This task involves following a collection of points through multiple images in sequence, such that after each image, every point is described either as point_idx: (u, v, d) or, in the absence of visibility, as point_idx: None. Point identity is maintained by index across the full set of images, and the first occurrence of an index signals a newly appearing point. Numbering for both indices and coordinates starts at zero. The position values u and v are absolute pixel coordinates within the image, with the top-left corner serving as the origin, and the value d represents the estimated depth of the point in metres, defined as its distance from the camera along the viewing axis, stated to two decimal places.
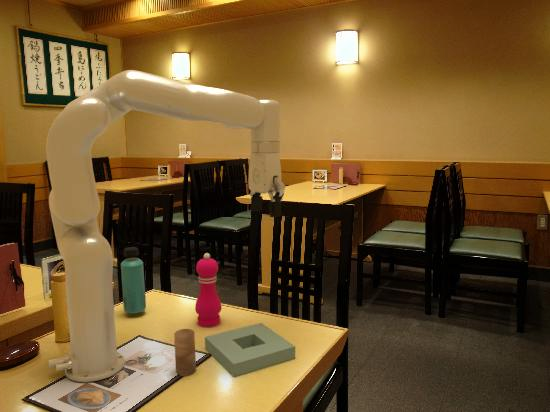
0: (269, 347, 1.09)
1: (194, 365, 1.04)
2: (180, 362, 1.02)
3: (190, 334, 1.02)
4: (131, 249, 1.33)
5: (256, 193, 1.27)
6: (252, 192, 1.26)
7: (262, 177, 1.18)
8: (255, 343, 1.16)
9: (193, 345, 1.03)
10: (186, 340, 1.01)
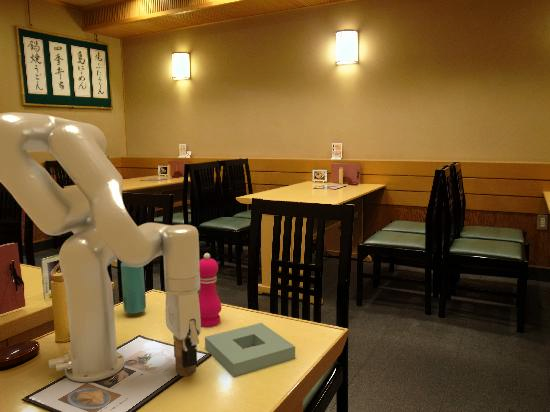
0: (269, 347, 1.09)
1: (194, 365, 1.04)
2: (180, 362, 1.02)
3: None
4: None
5: None
6: None
7: (176, 320, 0.98)
8: (255, 343, 1.16)
9: None
10: (186, 340, 1.01)
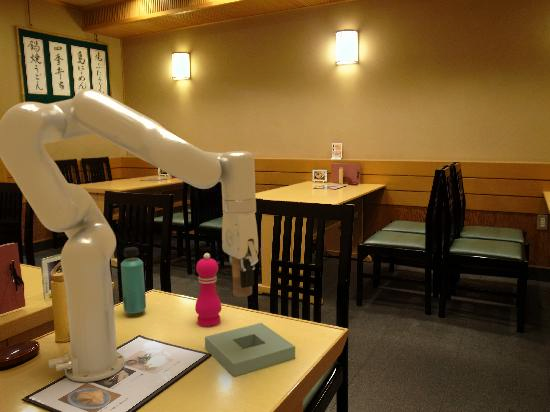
0: (269, 347, 1.09)
1: (251, 287, 1.08)
2: (238, 283, 1.07)
3: None
4: (131, 249, 1.33)
5: None
6: (231, 258, 1.10)
7: (235, 241, 1.03)
8: (255, 343, 1.16)
9: None
10: None
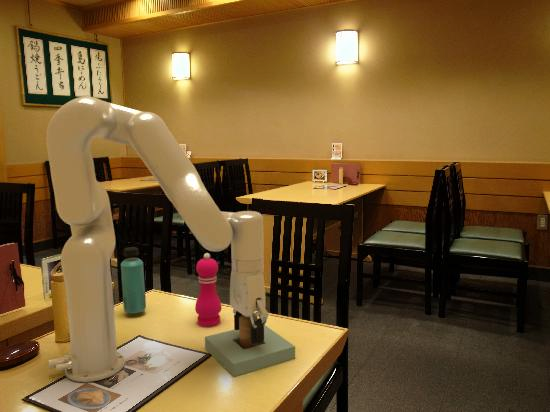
0: (269, 347, 1.09)
1: None
2: (245, 345, 1.10)
3: None
4: (131, 249, 1.33)
5: None
6: (235, 309, 1.14)
7: (244, 299, 1.06)
8: None
9: None
10: (251, 324, 1.09)
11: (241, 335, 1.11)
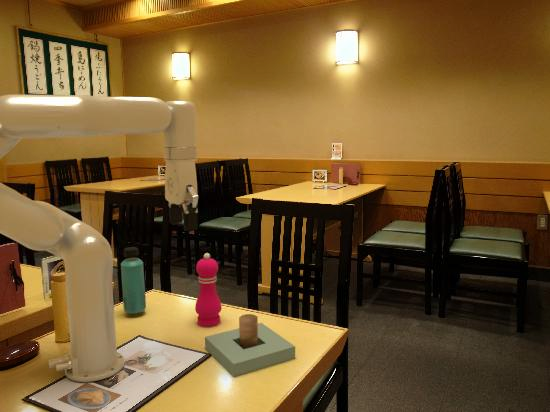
0: (269, 347, 1.09)
1: None
2: (245, 345, 1.10)
3: (254, 318, 1.11)
4: (131, 249, 1.33)
5: (175, 203, 1.16)
6: (170, 202, 1.15)
7: (175, 186, 1.07)
8: None
9: (256, 329, 1.11)
10: (251, 324, 1.09)
11: (241, 335, 1.11)
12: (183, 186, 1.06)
